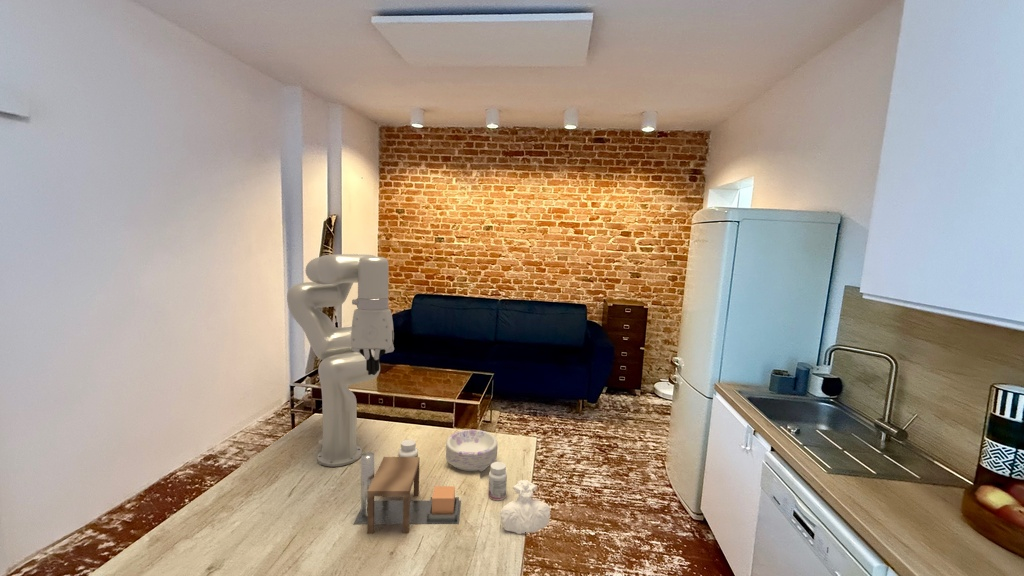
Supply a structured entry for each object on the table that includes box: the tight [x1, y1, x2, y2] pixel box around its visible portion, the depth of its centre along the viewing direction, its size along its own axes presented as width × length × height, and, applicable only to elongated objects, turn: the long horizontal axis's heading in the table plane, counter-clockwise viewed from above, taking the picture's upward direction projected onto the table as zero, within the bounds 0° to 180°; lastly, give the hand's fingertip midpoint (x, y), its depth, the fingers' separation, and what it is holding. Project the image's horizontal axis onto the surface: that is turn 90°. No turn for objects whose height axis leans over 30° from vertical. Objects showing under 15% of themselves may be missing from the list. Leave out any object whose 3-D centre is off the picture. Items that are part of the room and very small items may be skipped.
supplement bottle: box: [397, 439, 419, 457], centre depth 119 cm, size 5×5×10 cm
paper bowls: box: [445, 429, 498, 473], centre depth 126 cm, size 15×15×8 cm
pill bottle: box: [487, 461, 508, 501], centre depth 111 cm, size 5×5×8 cm
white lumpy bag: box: [499, 479, 551, 535], centre depth 100 cm, size 12×8×11 cm
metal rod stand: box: [353, 451, 462, 526], centre depth 101 cm, size 24×9×15 cm, turn 94°
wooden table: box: [366, 456, 421, 534], centre depth 101 cm, size 30×23×11 cm
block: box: [431, 485, 456, 514], centre depth 102 cm, size 5×5×5 cm
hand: (372, 373), depth 111 cm, fingers closed
